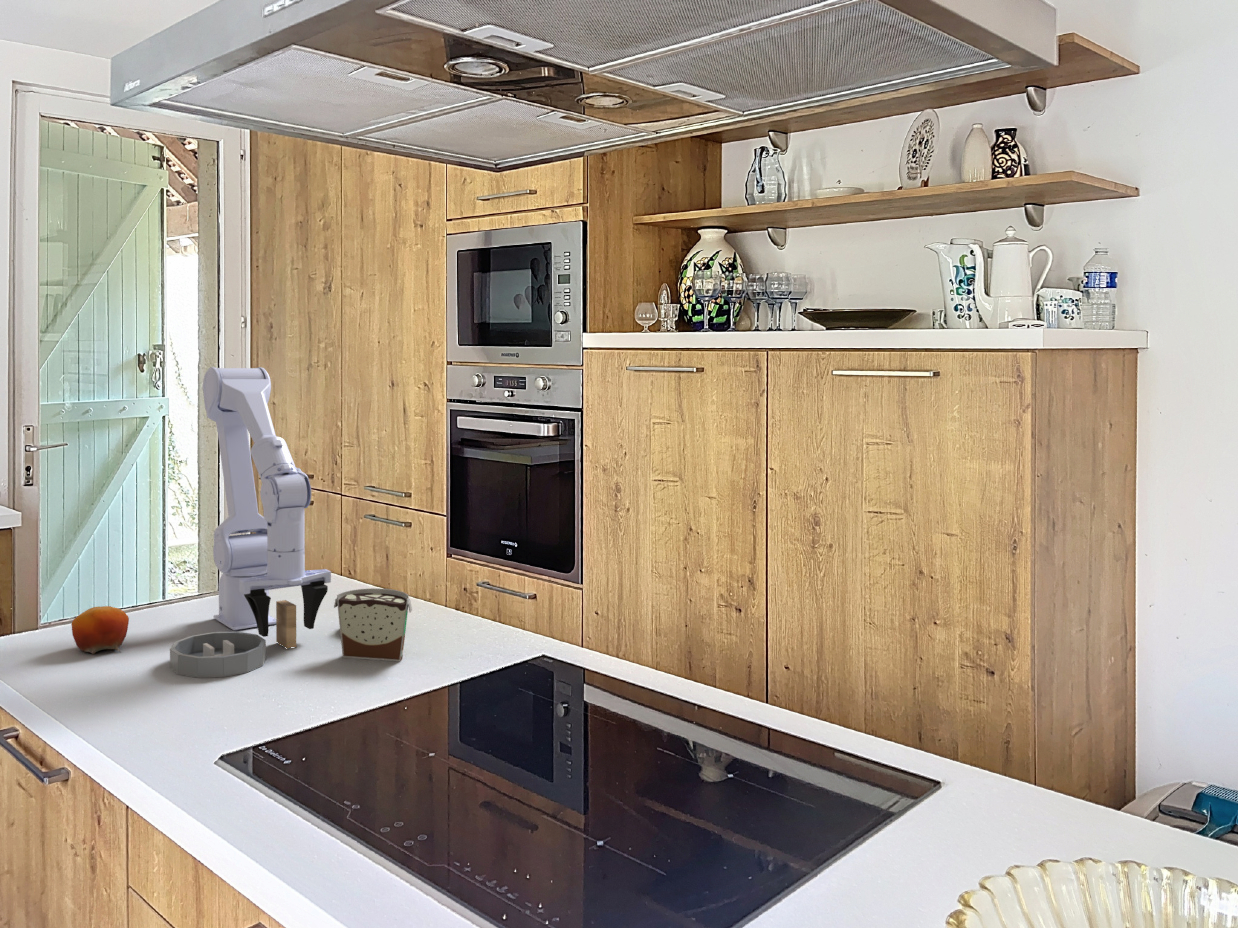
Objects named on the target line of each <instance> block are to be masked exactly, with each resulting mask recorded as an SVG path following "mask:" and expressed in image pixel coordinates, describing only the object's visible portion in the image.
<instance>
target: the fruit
mask: <svg viewBox="0 0 1238 928" xmlns="http://www.w3.org/2000/svg"><path fill="white" fill-rule="evenodd" d="M129 619H130V617H129V616H128V615H127V613H126V612H125V611H123V610H122V609H121V608H119V607H114V606H111V605H105V606H102V605H101V606H93V607H90V608H88V609H86V610H85V611H83V612H82V613H79V615H78V616H76V617H74V619H73V620H72V622H71V625H70V626H71V633H72V637H73V641H74V642H75V644H76V647H77V648H78V649H80V651H82V652H85V653H91V654H92V655H94V654H95V653H97V652H100V651H103V650H115V651H118V652H119V653H122V652H121V650H120V648H119V647H120V646H122V645H123V643H124V640H125V639H126V636H127V634H128V630H129V624H130V623H129V621H130V620H129Z"/></svg>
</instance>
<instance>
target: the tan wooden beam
mask: <svg viewBox="0 0 1238 928" xmlns="http://www.w3.org/2000/svg"><path fill="white" fill-rule="evenodd" d="M275 604H276V605H275V607H276V608H275V611H276V612H275V613H276V615H275V619H276V624H275V626H276V631H275V633H276V635H275V636H276V637H275V638H276V639H275V640H276V642H278V643H279V644H281V645H283V646H284V647H286V648H287V649H286V650H289V649H288V648H291V647H296V648H297V605H296V604H294V603H292V602H291V601H288V600H286V599H283V600H277V601H276V602H275ZM284 647H283V648H284Z"/></svg>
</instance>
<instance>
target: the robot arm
mask: <svg viewBox="0 0 1238 928" xmlns="http://www.w3.org/2000/svg"><path fill="white" fill-rule="evenodd" d="M206 370H207V371H206V372H205V373H204V376H203V381H202V393H203V401H204V402H203V404H204V410H205V412H206V417H207V418H208V419H209V420H211V421H213V422H214V423H215V425H216V433H217V437H218V445H219V452H220V453H219V454H220V459H221V461H220V462H221V469H222V476H223V477H222V478H223V483H224V491H225V492H224V493H225V498H226V506H227V507H226V508H227V513H228V514H227V516H228V517H227V518H226V519H225V520H223V521H222V522H221V523H220V524H219V525H218V526H217V527H216V528H215V530H214V531H213V548H212V549H213V550H212V552H213V553H212V554H213V556H212V557H213V561H214V564H215V567H216V568H217V569H218V571H219V572H220V573H222V574H221V576H220V578H219V581H218V614H214V615H213V619H215V620H216V621H217V622H219V623H221V624H222V625H224V626H225V627H227V628H229V629H231V630H232V631H238V630H245V629H249V628H250V629H251V628H257V631H258V635H259V636H260V637H261V636H262V638H263V637H264V638H265V637H269V625H276V617H273V616H271V615H270V603H271V599H272V598H271V596H270V591H272V590H279V589H285V588H292V587H299V586H300V588H301V593H302V600H303V627H305V628H307V629H308V630H312V629H314V626H315V622H316V618H317V615H318V612H319V610H320V607H321V604H322V602H323V600H324V599H325V597H326V595H327V593H328V588H329V587H328V585H326V584H331V582H332V571H331V570H329V569H326V568H323V569H311V570H306V569H305V568H306V566H305V565H306V564H305V563H306V562H305V561H306V560H305V557H306V556H305V555H306V553H305V552H306V551H305V550H306V549H305V547H306V543H305V539H306V538H305V536H306V535H305V533H306V532H305V526H306V525H305V524H306V523H305V517H306V516H305V515H306V514H305V509H307V508H308V507H310V504H311V502H312V501H311V500H312V486H311V483H310V478H309V476H308V475H307V474H306V472H303V471H302V469H301V468H300V467H296V464H295V462H294V459H293V457H292V455H291V452H290V450H289V447H288V444H287V442H286V440H285V439H284V438H283V437H280V436H277V435H276V431H275V427H274V424H273V421H272V417H271V413H270V410H269V406H268V404H269V401H270V396H271V392H272V382H271V381H272V380H271V377H270V375H269V373H268V371H267V370H266V368H264V367H260V366H259V367H255V368H253V367H248V368H247V367H215V366H211V367H209V368H208V369H206ZM249 436H250V437H251V439H252V441H253V443H254V444H253V445H252V446H250V440H249ZM252 460H253V461H252ZM252 462H254V465H255V468H256V471H257V473H258V476H259V478H260V479H259V480H260V481H261V487H260V491H259V493H260V501H261V505H262V509H263V515H262V514H260V513H259V509H258V508H259V507H258V499H257V492H256V487H255V486H256V485H255V476H254V471H253V470H254V469H253V463H252ZM236 534H237V535H236Z"/></svg>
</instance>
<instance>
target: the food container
mask: <svg viewBox="0 0 1238 928" xmlns="http://www.w3.org/2000/svg"><path fill="white" fill-rule="evenodd" d="M336 608H337V611H338V612H337V613H338V623H339V624H338V625H339V635H340V642H341V643H340V644H341V652H342V654H341V655H342V658H344V659H347V658H348V659H360V660H363V659H364V660H372V659H374V660H375V659H376V660H375V661H386V662H387V661H389V662H402V660H403V656H404V655H403V654H404V648H405V638H406V637H405V636H406V630H407V621H408V613H411V612H412V611H413V606H412V602H411V598H410V596H409V594H408V593H406V592H404V591H401V590H396V589H390V588H358V589H352V590H346V591H343V592H340V593H338V594H336V598H335V599H334V605H333V609H336Z"/></svg>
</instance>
